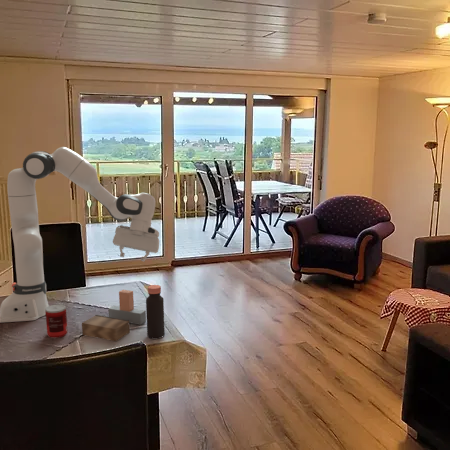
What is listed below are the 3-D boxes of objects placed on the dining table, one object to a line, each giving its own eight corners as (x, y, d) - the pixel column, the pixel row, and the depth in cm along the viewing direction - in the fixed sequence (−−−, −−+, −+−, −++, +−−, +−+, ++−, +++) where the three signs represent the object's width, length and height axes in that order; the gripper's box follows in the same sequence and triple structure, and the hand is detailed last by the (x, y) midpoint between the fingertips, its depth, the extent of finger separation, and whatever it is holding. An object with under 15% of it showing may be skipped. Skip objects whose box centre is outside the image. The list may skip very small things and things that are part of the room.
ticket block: (82, 334, 189) (81, 322, 188) (96, 326, 197) (96, 314, 196) (116, 341, 183) (115, 328, 182) (129, 332, 191) (129, 320, 190)
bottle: (148, 340, 184) (146, 290, 181) (146, 333, 191) (144, 284, 187) (166, 337, 186) (164, 288, 182) (163, 331, 193) (161, 283, 189)
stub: (108, 319, 205) (107, 290, 202) (114, 315, 208) (113, 287, 206) (140, 324, 199) (139, 295, 196) (146, 321, 202) (144, 292, 200)
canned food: (60, 328, 196) (58, 302, 194) (71, 333, 191) (70, 307, 189) (43, 334, 190) (41, 308, 188) (54, 339, 185) (52, 312, 183)
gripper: (115, 222, 211) (107, 252, 207) (161, 231, 210) (153, 262, 206) (118, 226, 217) (110, 255, 213) (162, 234, 216) (155, 264, 213)
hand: (132, 258), depth 210 cm, fingers open, 8 cm apart
